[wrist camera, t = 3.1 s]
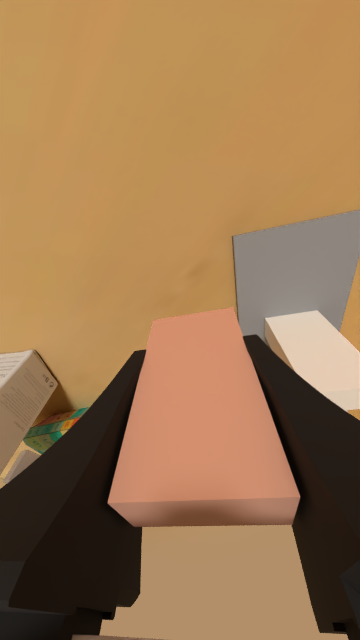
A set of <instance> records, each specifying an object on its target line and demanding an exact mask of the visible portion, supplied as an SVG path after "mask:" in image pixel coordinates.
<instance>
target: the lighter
mask: <svg viewBox="0 0 360 640" xmlns="http://www.w3.org/2000/svg"><path fill="white" fill-rule="evenodd" d="M38 457H40V455H38V454H35V453H33V452H31V451H29V450H24V451H22V452H21V453H20V455H19V456H18V458H17V459H16V461H15V463H14V464H13V466H12V468H11V469H10V471H9V472H8V474H7V476H6V477H5V479H4V481H3V482H4V483H6V484H7V483H8V482H10V481H11V480H12V479H13V478H15V477H16V476H17V475H18V474H20V473H21V472H22V471H23V470H24V469H26V468H27V467H28V466H29V465H30V464H31V463H33V462H34V461H35V460H36V459H37V458H38Z"/></svg>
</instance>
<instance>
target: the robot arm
mask: <svg viewBox="0 0 360 640" xmlns="http://www.w3.org/2000/svg"><path fill="white" fill-rule="evenodd" d="M242 337H243V340H244V343H245V345H246V348H247V351H248V353H249V355H250V357H251V360H252V362H253V365H254V368H255V371H256V374H257V377H258V379H259V382H260V385H261V388H262V391H263V393H264V396H265V399H266V402H267V405H268V407H269V410H270V413H271V416H272V419H273V421H274V424H275V427H276V430H277V433H278V436H279V438H280V441H281V444H282V447H283V450H284V452H285V455H286V458H287V461H288V464H289V466H290V469H291V472H292V475H293V478H294V480H295V483H296V486H297V489H298V492H299V495H300V500H299V503H298V507H297V510H296V514H295V517H294V521H293V524H292V528H293V532H294V536H295V539H296V544H297V548H298V552H299V556H300V560H301V564H302V568H303V572H304V576H305V580H306V584H307V588H308V592H309V596H310V601H311V605H312V608H313V612H314V615H315V618H316V622H317V625H318V629H319V632H320V633H336V634H347V636H348V639H349V640H360V421H359V420H358V419H357V418H355V417H354V416H352V415H351V414H349V413H348V412H346V411H345V410H343V409H342V408H341V407H339V406H338V405H336V404H335V403H334V402H332V401H331V400H330V399H328V398H327V397H326V396H324V395H323V394H322V393H320V392H319V391H318V390H316V389H315V388H314V387H313V386H311V385H310V384H309V383H308V382H307V381H305V380H304V379H303V378H302V377H301V376H299V375H298V374H297V373H296V372H295V371H294V370H293V369H291V368H290V367H289V366H288V365H287V364H286V363H285V362H284V361H283V360H282V359H281V358H280V357H279V356H277V355H276V354H275V353H274V352H273V351H272V350H271V349H270V347H269V346H268V345H267V344H266V343H265V342H264V341H263V340H262V339H261V338H260V337H259V336H258V335H257V334H254V335H247V336H242ZM145 354H146V350H139V351H134V353H133V354H132V355H131V357H130V358H129V359H128V361H127V362H126V363H125V365H124V366H123V367H122V369H121V370H120V371H119V372H118V374H117V375H116V376H115V378H114V379H113V380H112V382H111V383H110V384H109V385H108V387H107V388H106V389H105V390H104V391H103V393H102V394H101V395H100V396H99V397H98V399H97V400H96V401H95V402H94V403H93V404H92V406H91V407H90V408H89V409H88V410H87V411H86V412H85V413H84V414H83V415H82V417H81V418H80V419H79V420H78V421H77V422H76V423H75V424H74V425H73V426H72V427H71V428H70V429H69V430H68V431H67V432H66V433H65V434H64V435H63V436H61V437H60V438H59V439H58V440H57V441H56V442H55V443H54V444H53V445H52V446H51V447H50V448H48V449H47V450H46V451H45V452H44V453H43V454H42V455H41V456H40V457H38V458H37V459H36V460H35V461H34V462H33V463H31V464H30V465H29V466H28V467H27V468H26V469H24V470H23V471H22V472H21V473H20V474H18V475H17V476H16V477H15V478H13V479H12V480H11V481H10V482H8V483H7V484H6V485H5V486H3V487H2V488H1V489H0V640H161V639H145V638H130V637H113V636H99V634H100V629H101V623H102V619H105V620H113V619H114V617H115V611H116V607H131V606H132V605H133V604H134V602H135V601H136V599H137V598H138V596H139V594H140V575H141V573H140V572H141V542H142V527H134V526H133V525H131V524H130V523H129V522H128V521H127V520H126V519H125V518H124V517H122V516H121V515H120V514H119V513H118V512H117V511H116V510H115V509H113V508H112V507H111V506H110V505H109V504H108V499H109V495H110V491H111V487H112V483H113V479H114V475H115V471H116V467H117V463H118V459H119V455H120V451H121V447H122V443H123V439H124V435H125V431H126V427H127V423H128V419H129V415H130V411H131V407H132V403H133V399H134V395H135V391H136V387H137V383H138V379H139V375H140V372H141V369H142V366H143V362H144V358H145Z"/></svg>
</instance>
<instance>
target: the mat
mask: <svg viewBox="0 0 360 640" xmlns="http://www.w3.org/2000/svg"><path fill="white" fill-rule="evenodd" d="M232 238H233V253H234V267H235V282H236V297H237V312H238V323H239V326H240V329H241V332H242V334H243V336H247V335H254V334H257V335H258V336H259V337H260V338H261V339H262V340H263V341H264V342H265V343H266V344H267V345H268V346H269V347H270V345H269V343H268V341H267V339H266V337H265V318H269V317H276V316H283V315H289V314H296V313H303V312H309V311H316V310H318V311H319V312H320V313H321V314H322V315H323V316H324V317H325V318H326V319H327V320H328V321H329V322H330V323H331V324H332V325H333V326H334V327H335V328H336V329H337V330H338V331H339V332H340V328H341V324H342V320H343V316H344V312H345V309H346V305H347V301H348V297H349V293H350V290H351V286H352V282H353V278H354V274H355V270H356V267H357V263H358V259H359V255H360V210H356V211H351V212H347V213H342V214H337V215H332V216H327V217H322V218H318V219H313V220H308V221H303V222H298V223H293V224H289V225H284V226H279V227H274V228H269V229H264V230H260V231H255V232H250V233H245V234H240V235H235V236H232ZM270 349H271V347H270ZM271 350H272V349H271Z"/></svg>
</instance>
